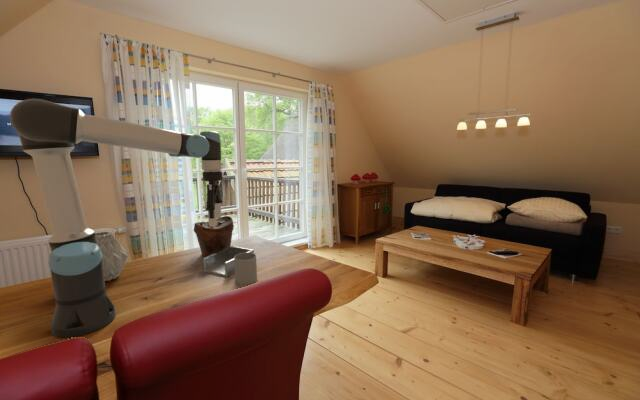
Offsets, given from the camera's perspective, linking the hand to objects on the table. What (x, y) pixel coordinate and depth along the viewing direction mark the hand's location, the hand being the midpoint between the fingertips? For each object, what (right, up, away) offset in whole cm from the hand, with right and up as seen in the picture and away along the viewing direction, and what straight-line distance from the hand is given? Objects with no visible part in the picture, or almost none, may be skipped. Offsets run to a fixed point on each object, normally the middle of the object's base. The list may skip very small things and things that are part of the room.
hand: (215, 222), depth 124 cm
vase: (-42, -22, -4) cm, 48 cm away
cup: (+14, -23, -5) cm, 27 cm away
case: (-9, -18, +24) cm, 31 cm away
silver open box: (+4, -20, +8) cm, 22 cm away
